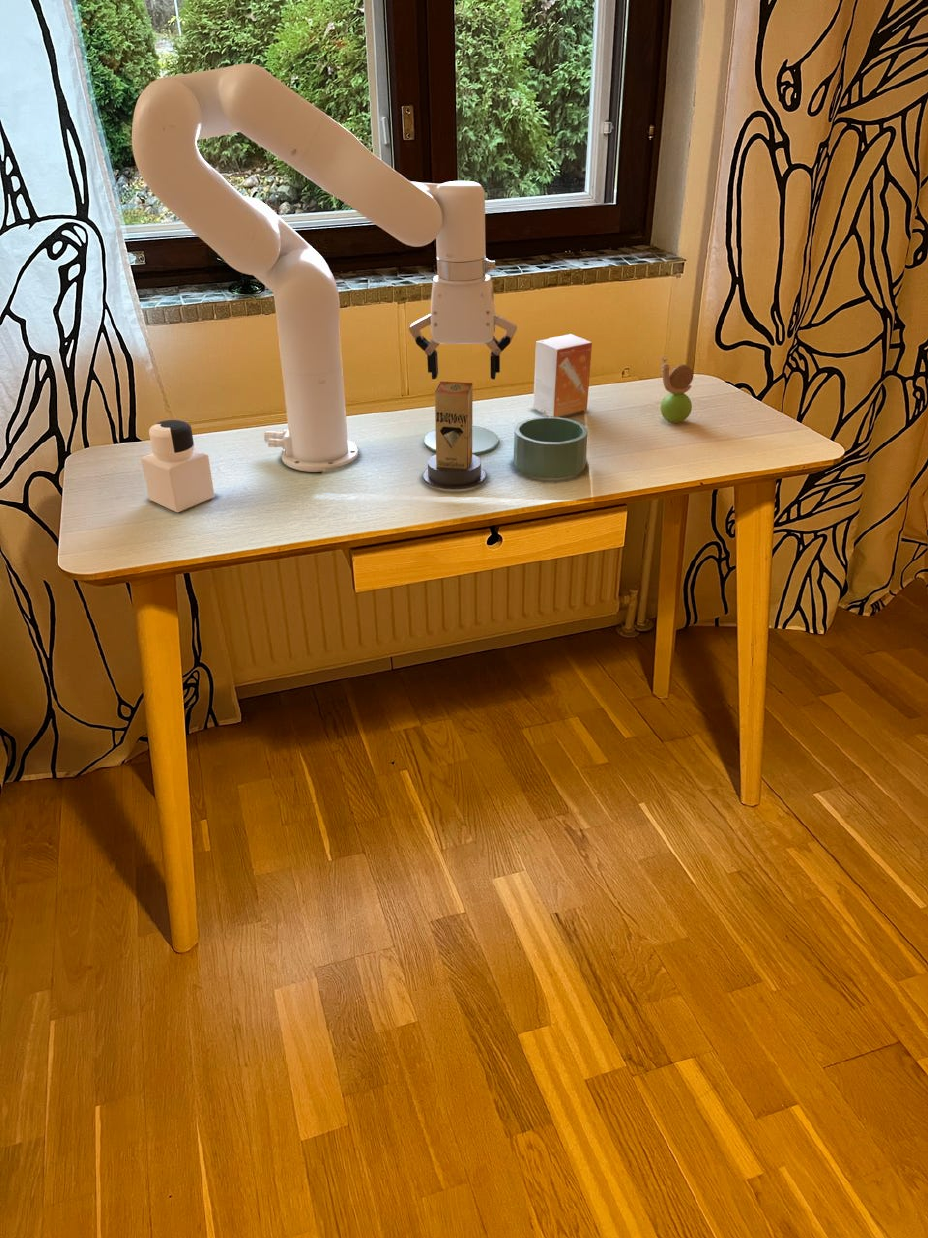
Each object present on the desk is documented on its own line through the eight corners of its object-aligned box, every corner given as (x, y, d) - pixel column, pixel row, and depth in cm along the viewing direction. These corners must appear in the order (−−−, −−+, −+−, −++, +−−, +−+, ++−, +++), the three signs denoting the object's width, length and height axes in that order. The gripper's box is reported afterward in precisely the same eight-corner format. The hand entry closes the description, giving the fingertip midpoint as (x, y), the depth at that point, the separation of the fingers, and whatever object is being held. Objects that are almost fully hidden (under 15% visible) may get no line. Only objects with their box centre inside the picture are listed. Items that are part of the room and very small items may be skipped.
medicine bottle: (186, 484, 153) (174, 411, 146) (215, 497, 149) (204, 423, 143) (148, 500, 148) (133, 425, 142) (177, 513, 144) (163, 437, 138)
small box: (553, 421, 175) (556, 349, 168) (532, 410, 180) (534, 340, 173) (588, 411, 179) (593, 341, 172) (566, 401, 183) (570, 332, 176)
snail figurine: (648, 418, 176) (655, 353, 170) (680, 414, 178) (688, 349, 171) (662, 429, 172) (670, 362, 165) (695, 425, 173) (704, 358, 167)
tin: (512, 480, 154) (513, 443, 151) (514, 451, 164) (515, 415, 160) (586, 482, 153) (588, 444, 150) (583, 453, 163) (586, 417, 160)
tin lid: (420, 458, 161) (419, 426, 158) (428, 429, 172) (427, 399, 169) (496, 460, 160) (497, 428, 157) (499, 431, 171) (500, 401, 168)
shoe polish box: (441, 454, 155) (440, 381, 149) (472, 456, 154) (472, 382, 148) (436, 467, 151) (434, 392, 144) (467, 469, 150) (467, 394, 144)
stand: (419, 491, 151) (419, 473, 149) (426, 465, 159) (426, 448, 157) (484, 493, 150) (484, 475, 148) (487, 467, 158) (487, 449, 157)
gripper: (518, 262, 153) (517, 369, 162) (408, 263, 154) (414, 368, 164) (516, 274, 147) (516, 384, 156) (402, 275, 148) (409, 384, 157)
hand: (464, 376), depth 160 cm, fingers open, 9 cm apart
